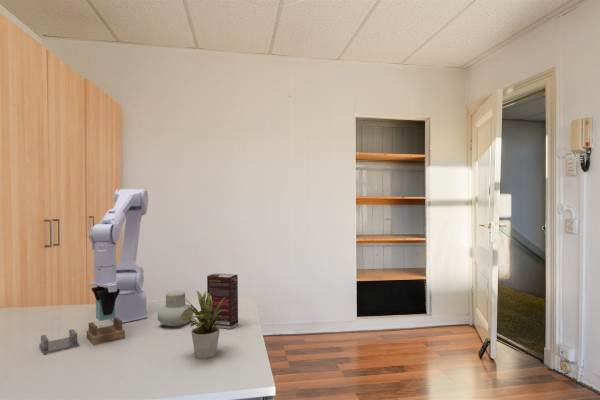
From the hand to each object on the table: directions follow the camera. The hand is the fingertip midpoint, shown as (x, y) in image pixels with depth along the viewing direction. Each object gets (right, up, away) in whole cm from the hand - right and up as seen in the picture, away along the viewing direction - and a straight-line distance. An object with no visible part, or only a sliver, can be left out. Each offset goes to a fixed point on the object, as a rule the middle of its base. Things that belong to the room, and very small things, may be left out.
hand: (105, 312), depth 107 cm
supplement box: (+32, -7, +10) cm, 34 cm away
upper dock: (0, -7, 0) cm, 7 cm away
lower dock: (-9, -7, -6) cm, 13 cm away
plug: (0, -1, 0) cm, 1 cm away
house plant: (+31, -7, -11) cm, 34 cm away
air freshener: (+16, -7, +12) cm, 21 cm away
